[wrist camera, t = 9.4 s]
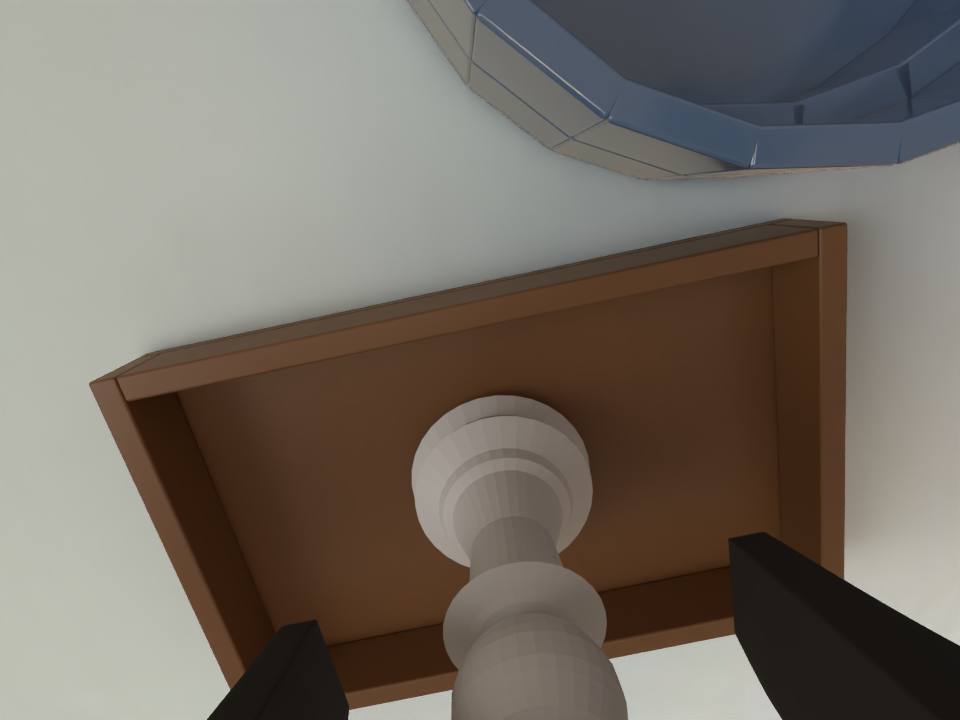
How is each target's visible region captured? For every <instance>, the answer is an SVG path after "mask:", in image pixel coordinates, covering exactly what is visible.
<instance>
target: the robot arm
mask: <svg viewBox="0 0 960 720" xmlns="http://www.w3.org/2000/svg"><path fill="white" fill-rule="evenodd" d="M728 544H729V558H730V573H731V587H732V601H733V616H734V630H735V634H736V636H737V638H738V640H739V642H740V644H741V646H742V648H743V650H744V652H745V654H746V656H747V658H748V660H749V662H750V664H751V666H752V668H753V670H754V672H755V673H756V675H757V677H758V679H759V681H760V683H761V685H762V687H763V689H764V691H765V692H766V694H767V696H768V698H769V699H770V701H771V702H772V704H773V706H774V707H775V709H776V710H777V712H778V713H779V715H780V717H781V718H782V720H960V646H959V645H957V644H955V643H953V642H952V641H950V640H948V639H946V638H944V637H942V636H941V635H939V634H937V633H935V632H933V631H932V630H930V629H928V628H926V627H924V626H922V625H921V624H919V623H917V622H915V621H914V620H912V619H910V618H908V617H906V616H905V615H903V614H901V613H899V612H898V611H896V610H894V609H892V608H891V607H889V606H887V605H886V604H884V603H882V602H880V601H879V600H877V599H875V598H874V597H872V596H870V595H868V594H867V593H865V592H863V591H862V590H860V589H858V588H857V587H855V586H853V585H852V584H850V583H848V582H847V581H845V580H843V579H842V578H840V577H838V576H837V575H835V574H833V573H832V572H830V571H828V570H827V569H825V568H824V567H822V566H820V565H819V564H817V563H815V562H814V561H812V560H810V559H809V558H807V557H806V556H804V555H802V554H801V553H799V552H797V551H796V550H794V549H792V548H791V547H789V546H788V545H786V544H784V543H783V542H781V541H779V540H778V539H776V538H774V537H772V536H771V535H769V534H767V533H766V532H759V533H754V534H748V535H743V536H738V537H733V538H728ZM348 715H349V704H348V701H347V699H346V696H345V693H344V691H343V688H342V685H341V683H340V680H339V677H338V675H337V672H336V669H335V667H334V664H333V662H332V659H331V656H330V654H329V651H328V648H327V646H326V643H325V640H324V638H323V635H322V632H321V630H320V627H319V625H318V622H317V619H315V620H310V621H305V622H300V623H295V624H290V625H284V626H282V627H281V628H280V630H279V631H278V632H277V633H276V634H275V635H274V637H273V638H272V639H271V640H270V641H269V643H268V644H267V645H266V646H265V648H264V649H263V650H262V651H261V653H260V654H259V655H258V656H257V658H256V659H255V660H254V661H253V663H252V664H251V665H250V666H249V668H248V669H247V670H246V671H245V673H244V674H243V675H242V677H241V678H240V679H239V680H238V682H237V683H236V684H235V685H234V687H233V688H232V689H231V690H230V692H229V693H228V694H227V695H226V697H225V698H224V699H223V700H222V702H221V703H220V704H219V705H218V707H217V708H216V709H215V710H214V711H213V713H212V714H211V715H210V716H209V718H208V719H207V720H348Z"/></svg>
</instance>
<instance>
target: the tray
mask: <svg viewBox="0 0 960 720" xmlns="http://www.w3.org/2000/svg"><path fill="white" fill-rule="evenodd" d="M846 310H847V224H846V223H843V222H828V221H812V220H796V219H779V220H774V221H770V222H765V223H760V224H755V225H751V226H746V227H741V228H737V229H732V230H727V231H722V232H718V233H713V234H708V235H704V236H699V237H694V238H690V239H685V240H680V241H675V242H671V243H666V244H661V245H657V246H652V247H647V248H642V249H638V250H633V251H628V252H624V253H619V254H614V255H609V256H605V257H600V258H595V259H591V260H586V261H581V262H577V263H572V264H567V265H562V266H558V267H553V268H548V269H544V270H539V271H534V272H529V273H525V274H520V275H515V276H511V277H506V278H501V279H496V280H492V281H487V282H482V283H478V284H473V285H468V286H463V287H459V288H454V289H449V290H445V291H440V292H435V293H431V294H426V295H421V296H416V297H412V298H407V299H402V300H398V301H393V302H388V303H383V304H379V305H374V306H369V307H365V308H360V309H355V310H350V311H346V312H341V313H336V314H332V315H327V316H322V317H318V318H313V319H308V320H303V321H299V322H294V323H289V324H285V325H280V326H275V327H270V328H266V329H261V330H256V331H252V332H247V333H242V334H237V335H233V336H228V337H223V338H219V339H214V340H209V341H205V342H200V343H195V344H190V345H186V346H181V347H176V348H172V349H167V350H162V351H157V352H153V353H148V354H145V355H143V356H141V357H140V358H138V359H136V360H134V361H132V362H130V363H128V364H126V365H124V366H122V367H120V368H118V369H116V370H114V371H112V372H110V373H108V374H106V375H104V376H102V377H100V378H98V379H96V380H94V381H92V382H90V384H89V386H90V388H91V390H92V392H93V394H94V397H95V399H96V401H97V403H98V405H99V407H100V409H101V412H102V414H103V416H104V418H105V420H106V422H107V425H108V427H109V429H110V431H111V433H112V435H113V438H114V440H115V442H116V444H117V446H118V448H119V450H120V453H121V455H122V457H123V459H124V461H125V463H126V466H127V468H128V470H129V472H130V474H131V476H132V478H133V481H134V483H135V485H136V487H137V489H138V491H139V494H140V496H141V498H142V500H143V502H144V504H145V507H146V509H147V511H148V513H149V515H150V517H151V519H152V522H153V524H154V526H155V528H156V530H157V532H158V535H159V537H160V539H161V541H162V543H163V545H164V547H165V550H166V552H167V554H168V556H169V558H170V560H171V563H172V565H173V567H174V569H175V571H176V573H177V576H178V578H179V580H180V582H181V584H182V586H183V588H184V591H185V593H186V595H187V597H188V599H189V601H190V604H191V606H192V608H193V610H194V612H195V614H196V616H197V619H198V621H199V623H200V625H201V627H202V629H203V632H204V634H205V636H206V638H207V640H208V642H209V645H210V647H211V649H212V651H213V653H214V655H215V657H216V660H217V662H218V664H219V666H220V668H221V670H222V673H223V675H224V677H225V679H226V681H227V683H228V685H229V688H230V690H231V689H232V688H233V687H234V685H235V684H236V683H237V682H238V680H239V679H240V678H241V677H242V675H243V674H244V673H245V671H246V670H247V669H248V668H249V666H250V665H251V664H252V663H253V661H254V660H255V659H256V658H257V656H258V655H259V654H260V653H261V651H262V650H263V649H264V648H265V646H266V645H267V644H268V643H269V641H270V640H271V639H272V638H273V637H274V635H275V634H276V633H277V632H278V631H279V630H280V628H281V627H282V626H284V625H290V624H295V623H300V622H305V621H310V620H315V619H317V622H318V625H319V627H320V630H321V632H322V635H323V638H324V640H325V643H326V646H327V648H328V651H329V654H330V656H331V659H332V662H333V664H334V667H335V669H336V672H337V675H338V677H339V680H340V683H341V685H342V688H343V691H344V693H345V696H346V699H347V701H348V704H349V710H351V709H356V708H362V707H367V706H372V705H377V704H382V703H387V702H392V701H397V700H402V699H407V698H412V697H418V696H423V695H428V694H433V693H438V692H443V691H448V690H453V688H454V684H455V681H456V677H457V674H458V671H459V670H458V668H457V667H456V666H455V665H454V664H453V663H452V661H451V659H450V657H449V655H448V653H447V651H446V648H445V644H444V640H443V624H444V620H445V616H446V612H447V610H448V608H449V606H450V604H451V602H452V600H453V599H454V598H455V596H456V595H457V594H458V593H459V592H460V590H461V589H462V588H463V587H464V586H465V585H467V584H468V583H469V580H470V567H467V566H464V565H461V564H459V563H457V562H456V561H454V560H452V559H450V558H449V557H447V556H446V555H444V554H443V553H442V552H441V551H440V550H439V549H437V548H436V547H435V546H434V545H433V543H432V542H431V541H430V540H429V538H428V537H427V536H426V534H425V533H424V530H423V528H422V526H421V524H420V522H419V520H418V516H417V511H416V507H415V497H414V493H413V489H412V467H413V462H414V457H415V454H416V452H417V449H418V447H419V445H420V443H421V441H422V439H423V438H424V436H425V435H426V433H427V432H428V431H429V429H430V428H431V427H432V426H433V425H434V424H435V423H436V422H437V421H438V420H439V419H440V418H441V417H443V416H444V415H445V414H446V413H448V412H450V411H451V410H453V409H455V408H456V407H458V406H460V405H462V404H464V403H467V402H470V401H472V400H475V399H478V398H484V397H490V396H495V395H505V396H519V397H524V398H529V399H533V400H535V401H538V402H540V403H543V404H545V405H547V406H549V407H551V408H552V409H554V410H555V411H557V412H558V413H560V414H561V415H563V416H564V417H565V418H566V419H567V420H568V421H569V422H570V423H571V424H572V425H573V426H574V428H575V429H576V431H577V432H578V434H579V436H580V437H581V439H582V440H583V443H584V446H585V448H586V451H587V454H588V459H589V468H590V474H591V479H592V488H593V494H592V504H591V508H590V511H589V514H588V517H587V520H586V522H585V524H584V526H583V527H582V529H581V531H580V533H579V534H578V535H577V537H576V538H575V539H574V540H573V541H572V542H571V543H570V545H569V546H568V547H566V548H565V549H564V550H563V551H561V552H560V553H559V557H560V560H561V562H562V565H563V568H566V569H569V570H571V571H573V572H574V573H576V574H578V575H579V576H581V577H583V578H584V579H585V580H586V581H587V582H588V583H589V584H590V585H591V586H592V587H593V588H594V589H595V591H596V592H597V594H598V595H599V596H600V598H601V600H602V603H603V605H604V608H605V611H606V620H607V627H606V635H605V638H604V641H603V644H602V646H601V650H602V651H603V652H604V654H605V655H606V656H607V658H608V659H611V658H616V657H621V656H626V655H632V654H637V653H642V652H647V651H652V650H657V649H662V648H667V647H672V646H677V645H682V644H688V643H693V642H698V641H703V640H708V639H713V638H718V637H723V636H728V635H733V634H735V630H734V616H733V601H732V587H731V573H730V558H729V544H728V538H733V537H738V536H743V535H748V534H754V533H759V532H766V533H767V534H769V535H771V536H772V537H774V538H776V539H778V540H779V541H781V542H783V543H784V544H786V545H788V546H789V547H791V548H792V549H794V550H796V551H797V552H799V553H801V554H802V555H804V556H806V557H807V558H809V559H810V560H812V561H814V562H815V563H817V564H819V565H820V566H822V567H824V568H825V569H827V570H828V571H830V572H832V573H833V574H835V575H837V576H838V577H840V578H842V579H843V580H844V522H845V416H846Z"/></svg>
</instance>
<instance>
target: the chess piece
mask: <svg viewBox="0 0 960 720" xmlns="http://www.w3.org/2000/svg"><path fill="white" fill-rule="evenodd" d="M412 489H413V493H414V497H415V507H416V511H417V516H418V520H419V522H420V524H421V526H422V528H423V530H424V533H425V534H426V536H427V537H428V538H429V540H430V541H431V542H432V543H433V545H434V546H435V547H436V548H437V549H439V550H440V551H441V552H442V553H443V554H444V555H446V556H447V557H449V558H450V559H452V560H454V561H456V562H457V563H459V564H461V565H464V566H467V567H470V580H469V583H468V584H467V585H465V586H464V587H463V588H462V589H461V590H460V592H459V593H458V594H457V595H456V596H455V598H454V599H453V600H452V602H451V604H450V606H449V608H448V610H447V612H446V616H445V620H444V624H443V640H444V644H445V648H446V651H447V653H448V655H449V657H450V659H451V661H452V663H453V664H454V665H455V666H456V667H457V668H458V670H459V671H458V674H457V677H456V681H455V684H454V688H453V692H452V717H451V720H628V713H627V704H626V700H625V697H624V694H623V691H622V688H621V685H620V682H619V680H618V677H617V675H616V672H615V669H614V667H613V665H612V663H611V662H610V661H609V659H608V658H607V656H606V655H605V654H604V652H603V651H602V650H601V646H602V644H603V641H604V638H605V635H606V627H607V620H606V611H605V608H604V605H603V603H602V600H601V598H600V596H599V595H598V594H597V592H596V591H595V589H594V588H593V587H592V586H591V585H590V584H589V583H588V582H587V581H586V580H585V579H584V578H583V577H581V576H579V575H578V574H576V573H574V572H573V571H571V570H569V569H566V568H563V565H562V562H561V560H560V557H559V553H560V552H561V551H563V550H564V549H565V548H566V547H568V546H569V545H570V543H571V542H572V541H573V540H574V539H575V538H576V537H577V535H578V534H579V533H580V531H581V529H582V527H583V526H584V524H585V522H586V520H587V517H588V514H589V511H590V508H591V504H592V494H593V488H592V479H591V474H590V468H589V459H588V454H587V451H586V448H585V446H584V443H583V440H582V439H581V437H580V436H579V434H578V432H577V431H576V429H575V428H574V426H573V425H572V424H571V423H570V422H569V421H568V420H567V419H566V418H565V417H564V416H563V415H561V414H560V413H558V412H557V411H555V410H554V409H552V408H551V407H549V406H547V405H545V404H543V403H540V402H538V401H535V400H533V399H529V398H524V397H519V396H505V395H495V396H490V397H484V398H478V399H475V400H472V401H470V402H467V403H464V404H462V405H460V406H458V407H456V408H455V409H453V410H451V411H450V412H448V413H446V414H445V415H444V416H443V417H441V418H440V419H439V420H438V421H437V422H436V423H435V424H434V425H433V426H432V427H431V428H430V429H429V431H428V432H427V433H426V435H425V436H424V438H423V439H422V441H421V443H420V445H419V447H418V449H417V452H416V454H415V457H414V462H413V467H412Z"/></svg>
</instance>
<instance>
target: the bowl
mask: <svg viewBox="0 0 960 720" xmlns="http://www.w3.org/2000/svg"><path fill="white" fill-rule="evenodd" d="M407 1H408V2H409V3H410V5H411V6H412V8H413V9H414V11H415V12H416V14H417V15H418V16H419V18H420V19H421V21H422V22H423V24H424V25H425V26H426V28H427V29H428V31H429V32H430V34H431V35H432V36H433V38H434V39H435V41H436V42H437V44H438V45H439V47H440V48H441V49H442V51H443V52H444V54H445V55H446V57H447V58H448V59H449V61H450V62H451V64H452V65H453V67H454V68H455V70H456V71H457V72H458V74H459V75H460V77H461V78H462V80H463V81H464V82H465V83H466V84H467V85H468V84H469V88H470V89H471V90H472V91H474V92H475V93H476V94H478V95H479V96H480V97H482V98H483V99H484V100H486V101H487V102H488V103H489V104H491V105H492V106H493V107H495V108H496V109H497V110H499V111H500V112H501V113H503V114H504V115H505V116H506V117H508V118H509V119H510V120H512V121H513V122H514V123H516V124H517V125H518V126H520V127H521V128H522V129H523V130H525V131H526V132H527V133H529V134H530V135H531V136H533V137H534V138H535V139H537V140H538V141H539V142H540V143H542V144H543V145H544V146H546V147H547V148H551V150H552V151H555V152H558V153H561V154H564V155H567V156H570V157H573V158H576V159H579V160H582V161H585V162H588V163H592V164H595V165H598V166H601V167H604V168H607V169H610V170H613V171H616V172H619V173H622V174H625V175H628V176H632V177H635V178H638V179H645V180H657V179H692V178H726V177H745V176H758V175H772V174H785V173H799V172H812V171H826V170H839V169H853V168H866V167H880V166H892V165H894V164H902V163H905V162H907V161H910V160H913V159H916V158H918V157H921V156H924V155H927V154H930V153H932V152H935V151H938V150H941V149H944V148H946V147H949V146H952V145H955V144H957V143H960V0H407Z"/></svg>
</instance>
